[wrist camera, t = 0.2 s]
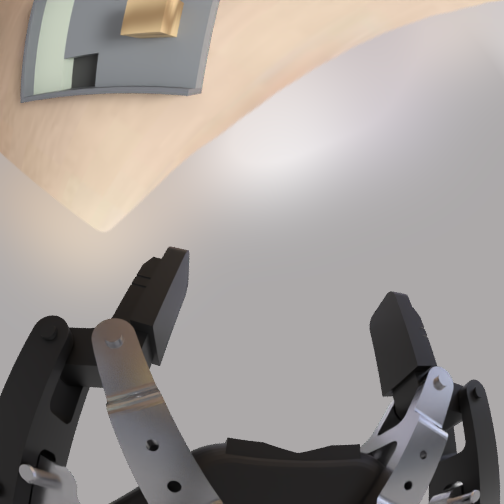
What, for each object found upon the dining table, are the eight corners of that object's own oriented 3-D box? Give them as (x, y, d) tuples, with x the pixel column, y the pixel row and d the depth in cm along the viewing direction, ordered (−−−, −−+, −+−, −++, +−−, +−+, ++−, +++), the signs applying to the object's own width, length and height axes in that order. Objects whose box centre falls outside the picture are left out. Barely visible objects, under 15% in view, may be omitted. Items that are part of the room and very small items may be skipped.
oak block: (147, 5, 21) (128, -3, 17) (184, 3, 21) (168, -7, 17) (140, 38, 24) (120, 35, 19) (176, 37, 24) (160, 31, 20)
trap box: (57, -5, 18) (36, -7, 14) (228, -34, 19) (220, -50, 14) (42, 96, 30) (20, 103, 25) (201, 93, 31) (187, 95, 26)
